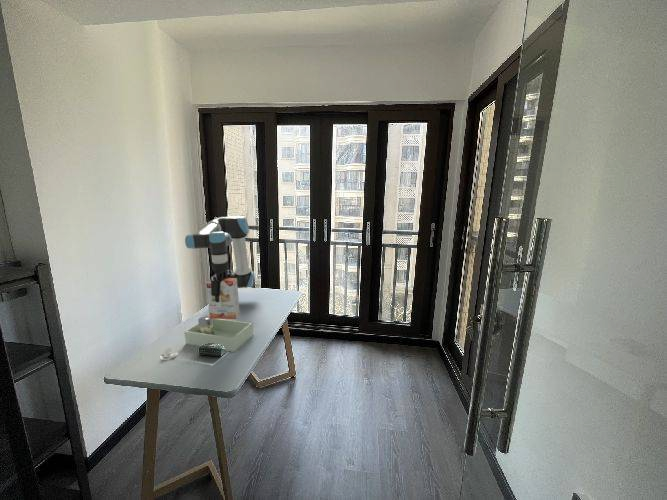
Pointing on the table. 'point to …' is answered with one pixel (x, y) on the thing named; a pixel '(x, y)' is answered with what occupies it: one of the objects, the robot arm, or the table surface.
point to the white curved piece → (168, 353)
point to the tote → (222, 334)
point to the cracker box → (224, 300)
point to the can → (206, 325)
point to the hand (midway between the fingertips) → (224, 304)
